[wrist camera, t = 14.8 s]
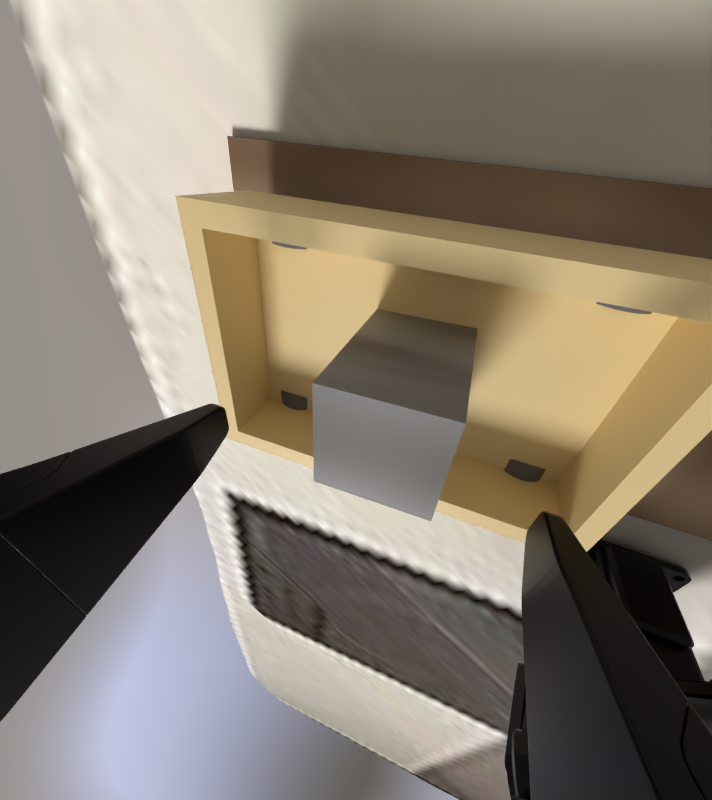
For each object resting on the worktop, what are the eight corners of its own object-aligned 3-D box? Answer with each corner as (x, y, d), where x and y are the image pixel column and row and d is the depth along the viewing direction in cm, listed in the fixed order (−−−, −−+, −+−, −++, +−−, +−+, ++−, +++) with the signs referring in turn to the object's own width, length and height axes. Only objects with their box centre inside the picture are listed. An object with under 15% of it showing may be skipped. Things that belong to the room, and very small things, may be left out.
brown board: (849, 578, 15) (854, 584, 15) (260, 396, 22) (258, 399, 22) (1514, 276, 7) (1549, 279, 7) (231, 136, 14) (227, 135, 14)
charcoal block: (451, 410, 15) (431, 521, 10) (368, 389, 16) (314, 481, 11) (477, 328, 12) (466, 423, 8) (377, 308, 13) (312, 383, 9)
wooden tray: (559, 470, 17) (577, 561, 13) (278, 387, 20) (226, 438, 17) (711, 254, 10) (839, 305, 7) (264, 189, 14) (175, 196, 10)
